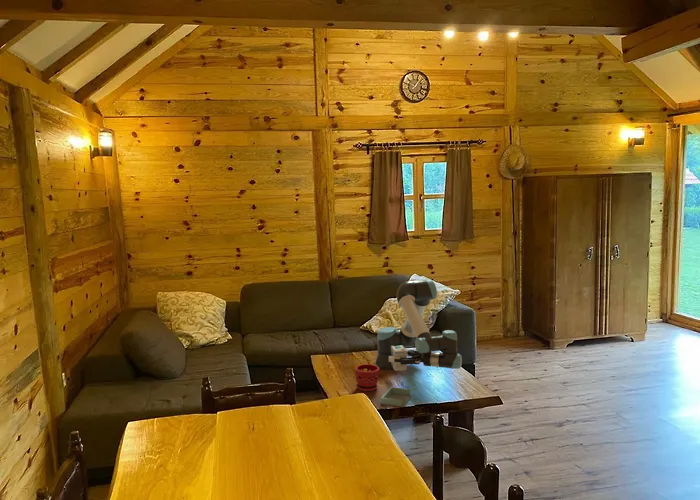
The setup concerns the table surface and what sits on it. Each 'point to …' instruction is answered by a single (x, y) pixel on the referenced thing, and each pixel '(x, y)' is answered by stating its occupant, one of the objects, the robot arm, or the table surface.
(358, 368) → the plant pot
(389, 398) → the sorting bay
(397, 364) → the light bulb box
